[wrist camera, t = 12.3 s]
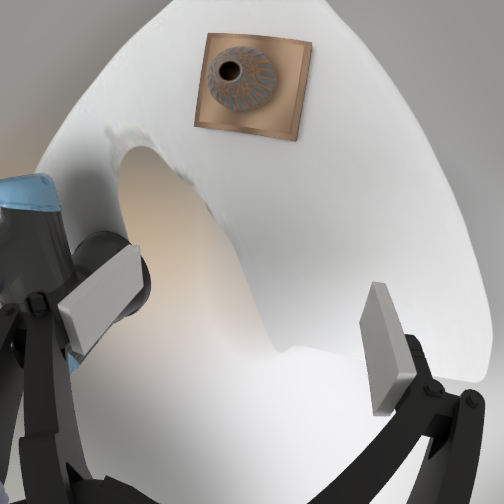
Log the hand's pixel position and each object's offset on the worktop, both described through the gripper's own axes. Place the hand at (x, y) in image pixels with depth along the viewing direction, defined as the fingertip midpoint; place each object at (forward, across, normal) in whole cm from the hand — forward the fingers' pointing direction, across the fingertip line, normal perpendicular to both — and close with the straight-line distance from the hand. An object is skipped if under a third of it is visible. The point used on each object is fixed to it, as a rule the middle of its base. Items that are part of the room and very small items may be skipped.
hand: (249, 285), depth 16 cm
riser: (+23, -5, +13) cm, 27 cm away
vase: (+20, -5, +13) cm, 25 cm away
